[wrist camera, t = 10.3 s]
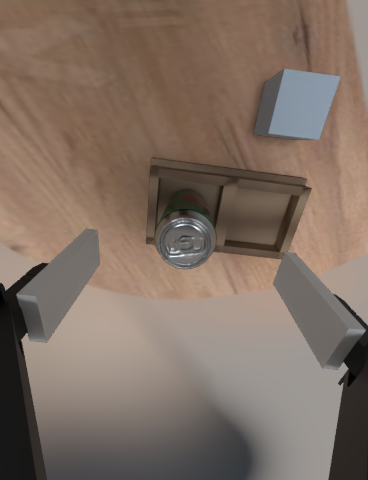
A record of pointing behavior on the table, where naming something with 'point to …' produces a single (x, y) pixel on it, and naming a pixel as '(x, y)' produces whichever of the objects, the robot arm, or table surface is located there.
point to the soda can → (186, 231)
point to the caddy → (233, 204)
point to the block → (295, 105)
